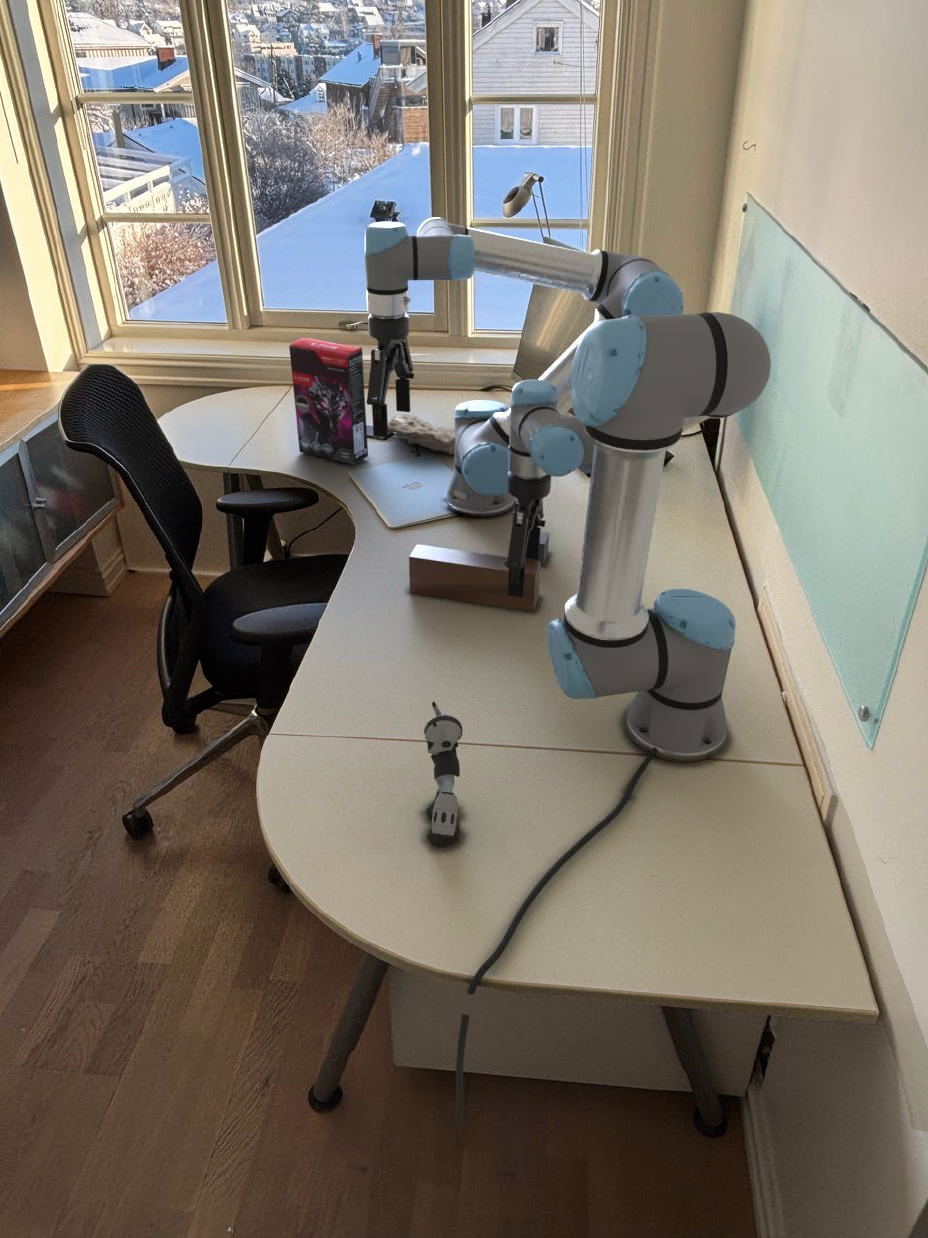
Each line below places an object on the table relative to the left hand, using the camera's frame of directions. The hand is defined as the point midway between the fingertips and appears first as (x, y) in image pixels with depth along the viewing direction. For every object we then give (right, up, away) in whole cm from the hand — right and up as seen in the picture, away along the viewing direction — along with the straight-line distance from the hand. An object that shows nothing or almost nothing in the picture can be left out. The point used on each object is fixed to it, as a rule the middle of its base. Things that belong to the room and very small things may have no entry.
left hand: (392, 423), depth 181 cm
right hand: (+25, -31, -11) cm, 41 cm away
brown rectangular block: (+16, -34, -6) cm, 38 cm away
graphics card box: (-18, +2, +47) cm, 50 cm away
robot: (+11, -67, -55) cm, 87 cm away
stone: (+4, +6, +53) cm, 54 cm away
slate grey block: (+28, -26, +6) cm, 39 cm away
